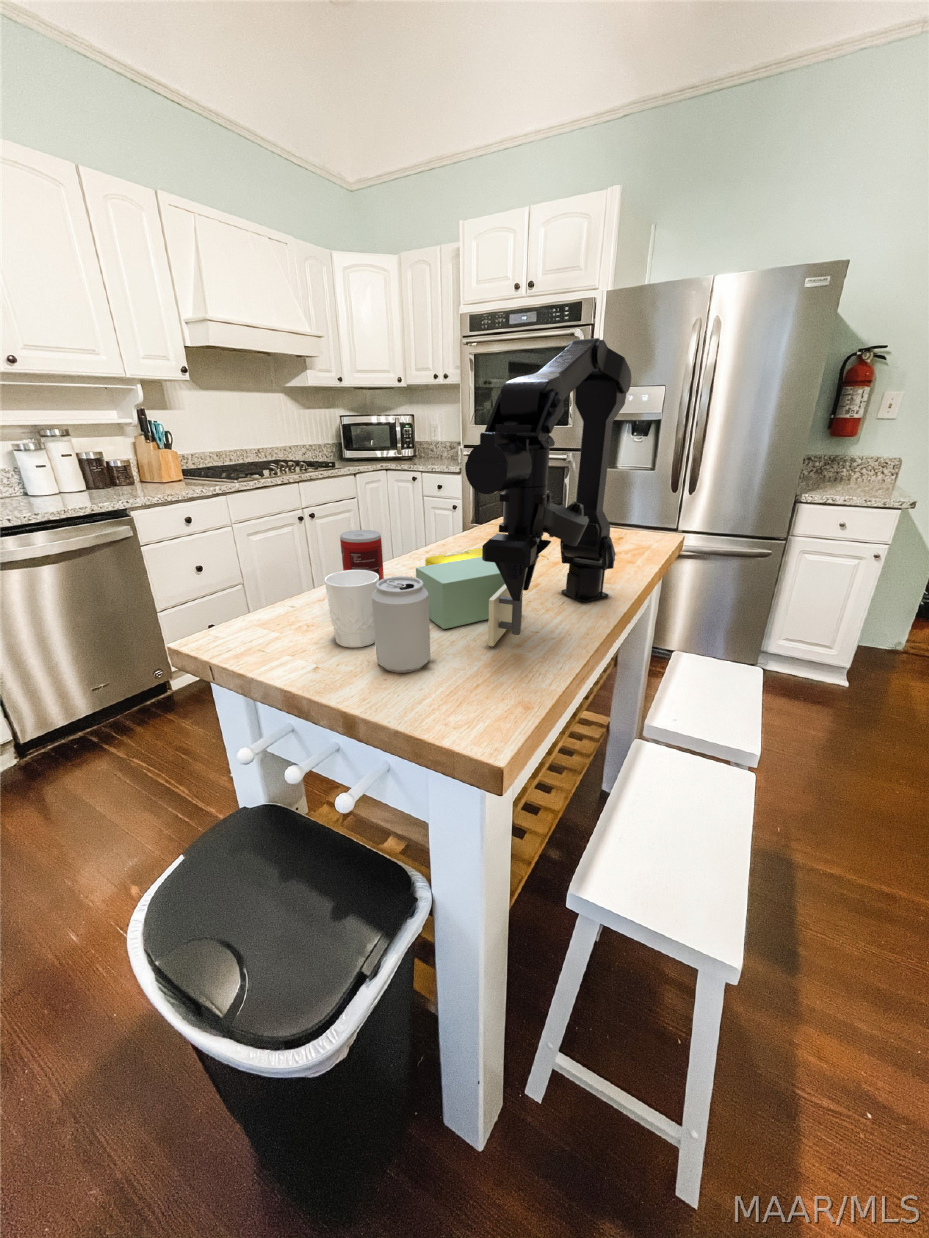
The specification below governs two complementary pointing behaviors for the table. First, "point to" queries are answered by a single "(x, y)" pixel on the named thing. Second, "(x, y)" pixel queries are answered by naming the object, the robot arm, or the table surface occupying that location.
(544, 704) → the table surface
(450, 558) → the element tile
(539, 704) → the table surface
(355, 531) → the canned food
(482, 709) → the table surface
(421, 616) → the can
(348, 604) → the white cup
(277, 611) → the table surface
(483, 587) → the mini fridge
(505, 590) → the fridge door
